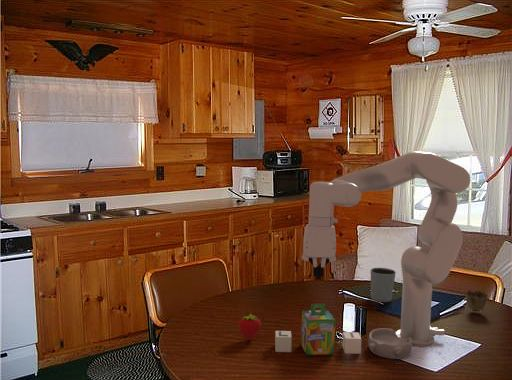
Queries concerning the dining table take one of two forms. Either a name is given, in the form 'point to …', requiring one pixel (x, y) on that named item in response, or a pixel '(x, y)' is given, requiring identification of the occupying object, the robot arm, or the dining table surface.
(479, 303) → the cup
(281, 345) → the white marked cube
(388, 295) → the grey cylinder
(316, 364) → the dining table surface
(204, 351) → the dining table surface
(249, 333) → the strawberry
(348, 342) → the cream numeral block
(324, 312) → the chalk box
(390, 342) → the dish
